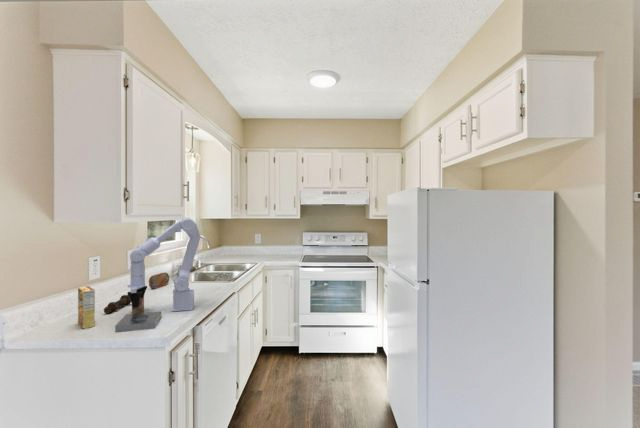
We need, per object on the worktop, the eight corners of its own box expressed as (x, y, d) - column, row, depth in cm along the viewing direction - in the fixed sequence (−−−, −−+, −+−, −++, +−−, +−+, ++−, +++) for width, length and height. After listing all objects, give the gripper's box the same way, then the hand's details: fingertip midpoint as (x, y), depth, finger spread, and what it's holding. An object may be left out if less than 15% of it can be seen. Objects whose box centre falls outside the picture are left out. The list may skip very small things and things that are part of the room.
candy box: (77, 324, 132) (77, 287, 132) (89, 321, 135) (89, 285, 135) (82, 329, 126) (82, 291, 126) (95, 326, 129) (95, 289, 129)
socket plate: (161, 316, 141) (161, 311, 141) (154, 328, 127) (154, 322, 127) (126, 320, 137) (126, 314, 136) (115, 332, 123) (115, 325, 123)
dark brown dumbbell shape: (105, 318, 144) (125, 307, 159) (114, 313, 144) (133, 302, 159) (98, 307, 144) (119, 297, 159) (107, 302, 144) (127, 292, 159)
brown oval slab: (152, 290, 187) (152, 276, 187) (147, 290, 188) (147, 276, 187) (169, 284, 202) (169, 271, 201) (165, 284, 202) (165, 271, 202)
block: (144, 312, 147) (143, 297, 146) (141, 315, 143) (141, 300, 143) (134, 313, 145) (134, 298, 145) (132, 316, 142) (131, 300, 142)
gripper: (132, 272, 150) (132, 301, 150) (122, 279, 136) (123, 310, 136) (148, 271, 152) (148, 299, 152) (141, 278, 138) (141, 308, 138)
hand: (137, 304), depth 144 cm, fingers open, 7 cm apart
